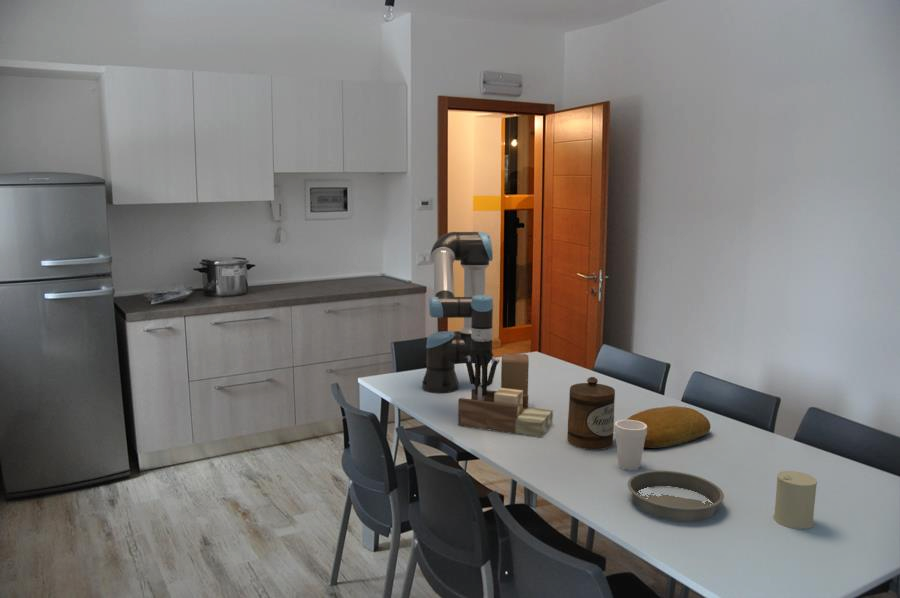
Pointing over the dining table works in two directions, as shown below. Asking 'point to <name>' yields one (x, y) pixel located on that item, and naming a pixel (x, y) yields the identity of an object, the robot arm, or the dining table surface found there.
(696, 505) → the cake pan
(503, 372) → the wooden block
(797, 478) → the can
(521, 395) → the birch block
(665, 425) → the bread
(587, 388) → the wooden container
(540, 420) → the chute
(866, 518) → the dining table surface
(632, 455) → the foam cup
